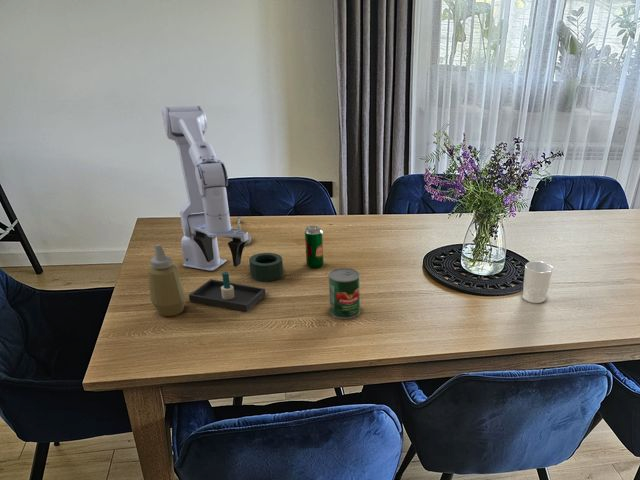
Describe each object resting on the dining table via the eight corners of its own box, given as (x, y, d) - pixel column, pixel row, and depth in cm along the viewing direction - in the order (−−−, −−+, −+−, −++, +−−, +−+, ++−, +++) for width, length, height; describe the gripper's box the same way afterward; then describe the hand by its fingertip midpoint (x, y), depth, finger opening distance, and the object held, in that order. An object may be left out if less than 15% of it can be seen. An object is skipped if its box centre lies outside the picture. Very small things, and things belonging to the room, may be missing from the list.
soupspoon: (229, 249, 191) (251, 248, 194) (229, 239, 190) (251, 239, 192) (229, 221, 208) (249, 221, 211) (228, 212, 207) (249, 212, 209)
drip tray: (190, 301, 160) (188, 294, 159) (211, 285, 168) (210, 279, 167) (247, 312, 158) (246, 305, 157) (265, 295, 166) (265, 288, 165)
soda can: (319, 270, 182) (317, 232, 176) (303, 267, 183) (301, 229, 177) (326, 263, 187) (324, 226, 180) (310, 261, 187) (308, 224, 181)
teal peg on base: (219, 298, 162) (216, 274, 158) (226, 293, 164) (222, 269, 161) (230, 300, 161) (227, 276, 158) (237, 295, 164) (234, 271, 160)
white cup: (529, 306, 174) (534, 274, 169) (515, 294, 180) (520, 263, 174) (552, 301, 177) (558, 270, 172) (537, 290, 183) (542, 259, 178)
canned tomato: (346, 322, 158) (345, 284, 152) (323, 312, 161) (321, 274, 155) (366, 311, 164) (366, 273, 158) (343, 301, 167) (343, 265, 161)
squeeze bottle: (195, 307, 157) (183, 242, 148) (172, 321, 151) (159, 254, 141) (169, 301, 159) (156, 236, 150) (146, 314, 153) (131, 247, 143)
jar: (245, 278, 174) (243, 262, 171) (260, 266, 181) (258, 250, 179) (274, 283, 173) (273, 267, 170) (288, 271, 180) (287, 255, 177)
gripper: (180, 213, 148) (189, 264, 155) (235, 221, 146) (241, 273, 153) (197, 204, 154) (204, 253, 161) (250, 212, 152) (255, 262, 159)
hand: (223, 262), depth 158 cm, fingers open, 7 cm apart
